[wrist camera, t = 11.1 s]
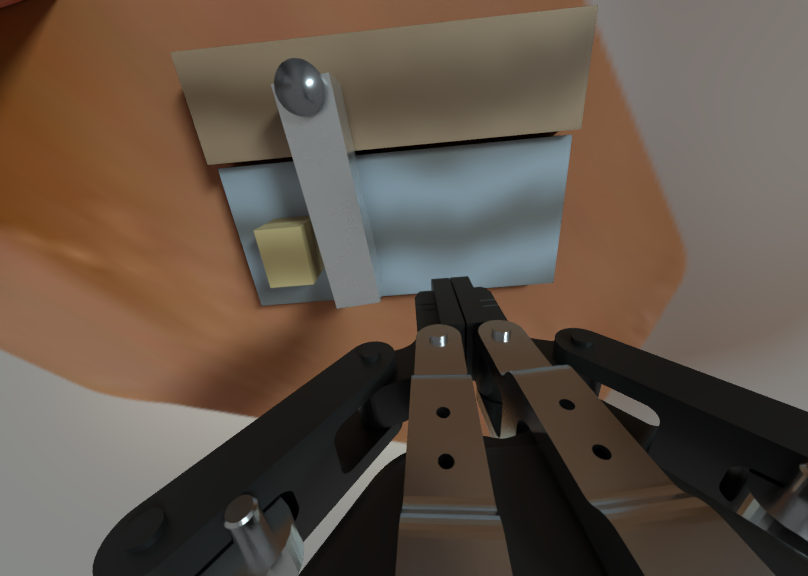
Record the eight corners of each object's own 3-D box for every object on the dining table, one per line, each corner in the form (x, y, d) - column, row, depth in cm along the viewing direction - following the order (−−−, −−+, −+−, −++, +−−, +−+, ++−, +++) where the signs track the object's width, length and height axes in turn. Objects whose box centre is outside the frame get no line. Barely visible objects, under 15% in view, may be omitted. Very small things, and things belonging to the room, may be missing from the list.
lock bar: (286, 79, 18) (260, 64, 15) (337, 69, 18) (321, 51, 14) (344, 289, 23) (335, 312, 20) (383, 283, 23) (379, 306, 20)
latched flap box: (201, 64, 20) (135, 38, 15) (570, 24, 19) (628, -18, 14) (270, 295, 27) (241, 328, 22) (543, 273, 26) (575, 302, 21)
